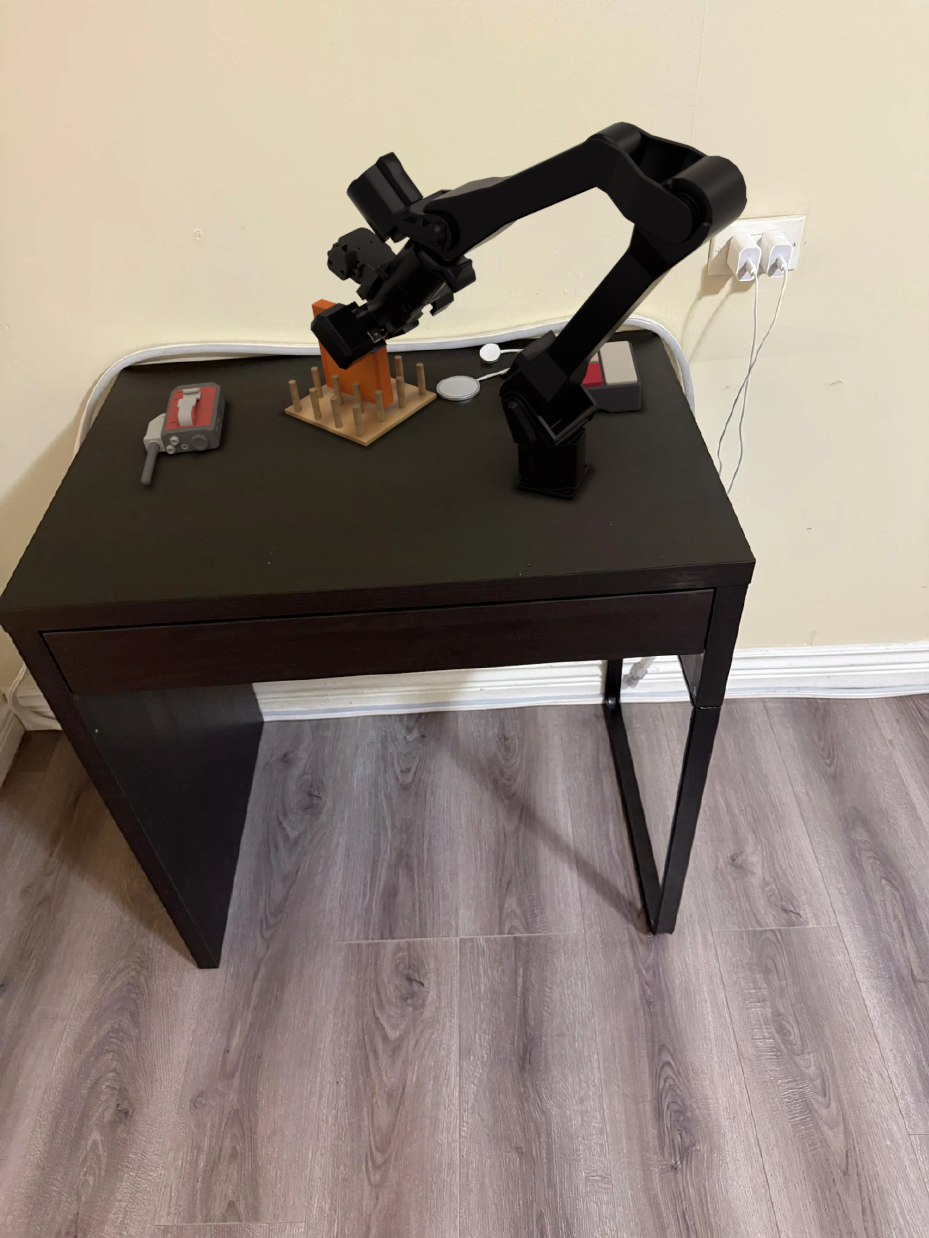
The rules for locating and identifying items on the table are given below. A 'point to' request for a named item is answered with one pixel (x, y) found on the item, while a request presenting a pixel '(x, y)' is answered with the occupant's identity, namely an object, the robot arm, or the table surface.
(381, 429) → the rack
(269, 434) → the table surface
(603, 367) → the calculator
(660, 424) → the table surface
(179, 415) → the walkie-talkie
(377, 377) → the lid
